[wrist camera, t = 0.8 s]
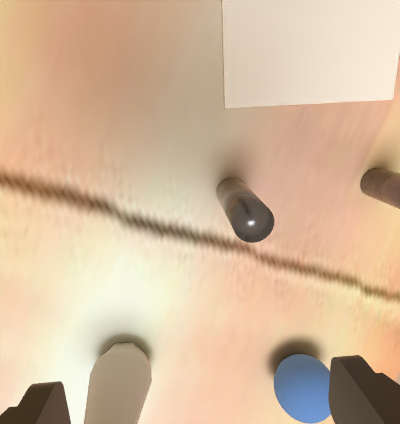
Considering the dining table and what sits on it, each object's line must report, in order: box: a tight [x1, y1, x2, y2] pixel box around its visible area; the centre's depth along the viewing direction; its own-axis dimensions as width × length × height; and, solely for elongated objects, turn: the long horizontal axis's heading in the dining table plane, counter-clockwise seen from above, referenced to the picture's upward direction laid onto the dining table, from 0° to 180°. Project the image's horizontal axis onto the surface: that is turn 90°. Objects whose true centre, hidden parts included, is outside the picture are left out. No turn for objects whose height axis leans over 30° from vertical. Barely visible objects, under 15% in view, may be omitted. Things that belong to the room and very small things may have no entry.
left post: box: [217, 178, 274, 243], centre depth 22 cm, size 3×3×8 cm
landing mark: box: [222, 0, 400, 108], centre depth 22 cm, size 14×14×1 cm
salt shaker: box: [84, 342, 152, 424], centre depth 25 cm, size 6×6×13 cm
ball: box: [274, 354, 331, 423], centre depth 30 cm, size 6×6×6 cm
